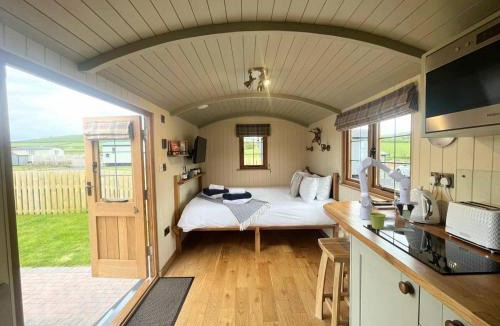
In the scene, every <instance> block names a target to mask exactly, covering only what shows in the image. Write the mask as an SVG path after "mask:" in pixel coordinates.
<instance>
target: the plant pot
mask: <svg viewBox="0 0 500 326" xmlns="http://www.w3.org/2000/svg"><path fill="white" fill-rule="evenodd" d="M369 215H370V218H371V220H370V222H371V223H370V224H371V227H372V229H375V230H379V231H380V230H384V225H385V219H386V217H387V214H385V213H381V212H372V213H369Z"/></svg>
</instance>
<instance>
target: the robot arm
mask: <svg viewBox="0 0 500 326" xmlns="http://www.w3.org/2000/svg"><path fill="white" fill-rule="evenodd" d="M371 166H372V167H376V168H377V167H378V169H380V170H381V171H383V172H385V173H387V174H388V175H387V176H388V177H389V178H391V179H392V180H394V181H396V182H397V183H398V182H399V184H400V187H399V200H397V201H394V200H393V201H391V203H392V205H394V206H396V208H397V209H398V212H399V213H398V214H399V216H403V210H404V206H406V210H408V211H410V217H411V215H412V213H413V210H415V206H419V202H418V201H411V184H412V181H411V179H410V177H408V176H406V174H403V173H401V172H400V171H399V170H398V169H395V168H394V169H391V168H390V167H388V166H387V165H385V164H383V163H382V162H381V161H380V160H377V159H374V158H373V157H370V156H366V157H364V158H363V159H362V160H361V161H360V162H359V165H358V167H357V173H358V174H357V175H358V181H359V186H360V187H359V188H360V193H361V194H360V198H361V199H360V207H359V215H358V217H359V218H360V219H361V220H365V221H366V220H367V221H371V218H370V215H369V213H373V205H372V204H371V203H373V199H372V197H371V195H370V192H369V185H368V180H367V179H368V178H367V174H366V173H367V172H366V170H368V168H370V167H371Z"/></svg>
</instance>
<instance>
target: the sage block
mask: <svg viewBox="0 0 500 326" xmlns="http://www.w3.org/2000/svg"><path fill="white" fill-rule="evenodd" d="M399 216H400V215H399ZM400 218H402V219H404V220H410V219H411V216H410V211H408V209H403V216H400Z"/></svg>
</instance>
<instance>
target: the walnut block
mask: <svg viewBox="0 0 500 326" xmlns="http://www.w3.org/2000/svg"><path fill="white" fill-rule="evenodd" d="M394 225H395V227H397V228H405V225H406V219H403V218H401V217H400V218H398V217H397V218H394Z"/></svg>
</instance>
